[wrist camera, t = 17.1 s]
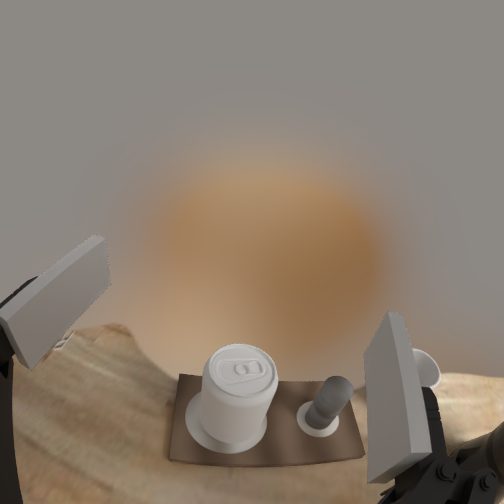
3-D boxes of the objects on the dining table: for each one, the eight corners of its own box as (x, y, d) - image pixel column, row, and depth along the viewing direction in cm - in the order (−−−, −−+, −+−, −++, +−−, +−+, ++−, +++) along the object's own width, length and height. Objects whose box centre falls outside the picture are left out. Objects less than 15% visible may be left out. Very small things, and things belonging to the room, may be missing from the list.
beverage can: (194, 399, 37) (197, 343, 31) (250, 391, 39) (266, 336, 34) (207, 449, 30) (213, 405, 24) (268, 438, 33) (292, 392, 27)
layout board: (341, 384, 44) (363, 348, 40) (361, 457, 32) (394, 428, 27) (179, 378, 41) (179, 337, 36) (169, 461, 29) (164, 433, 24)
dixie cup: (395, 381, 45) (422, 343, 40) (416, 415, 38) (449, 380, 34) (360, 391, 43) (386, 352, 38) (380, 430, 36) (414, 395, 31)
